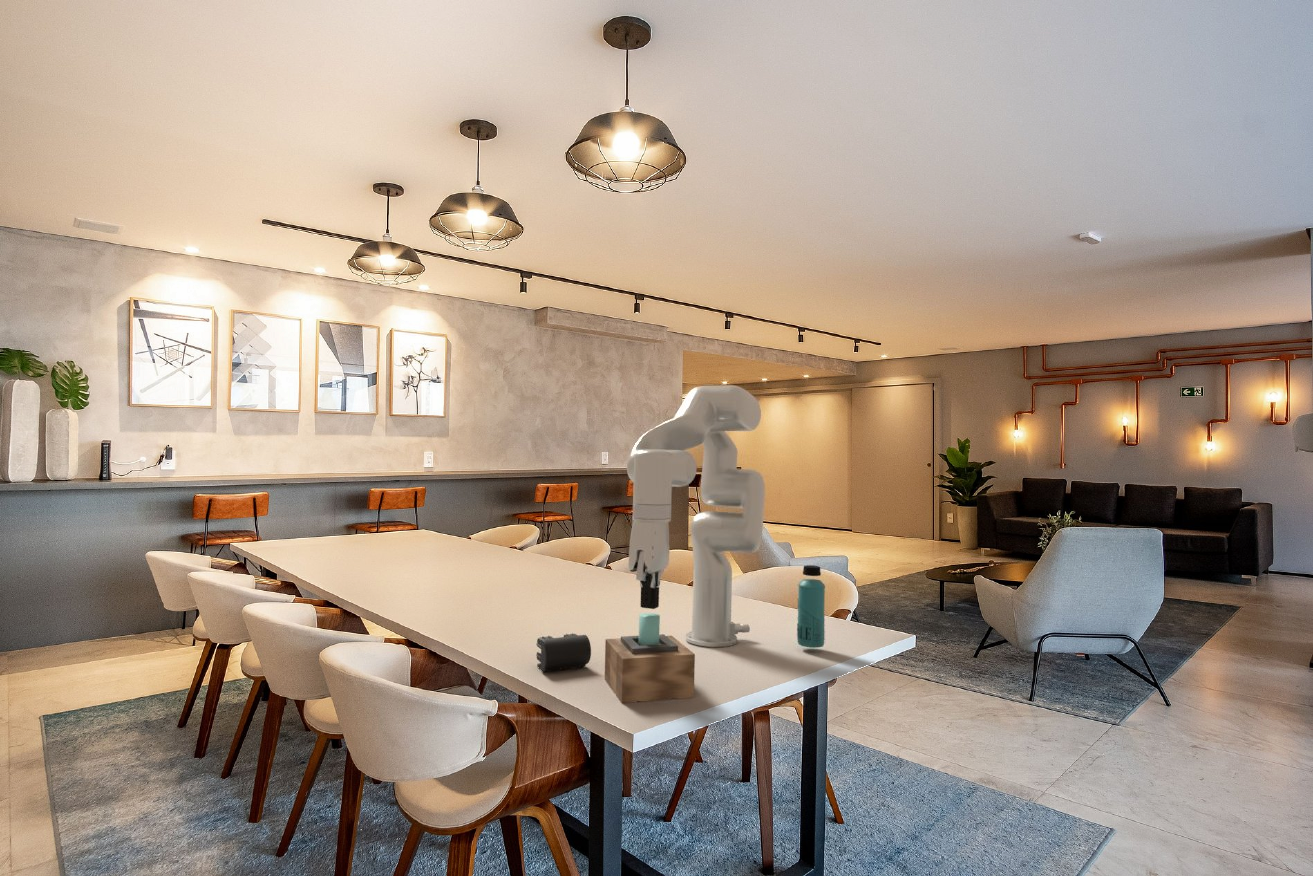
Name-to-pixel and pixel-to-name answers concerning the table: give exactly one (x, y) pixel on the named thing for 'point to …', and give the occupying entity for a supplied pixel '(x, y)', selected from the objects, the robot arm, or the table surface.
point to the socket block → (649, 669)
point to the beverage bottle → (811, 609)
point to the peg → (649, 629)
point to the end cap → (563, 652)
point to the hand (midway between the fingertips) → (649, 607)
